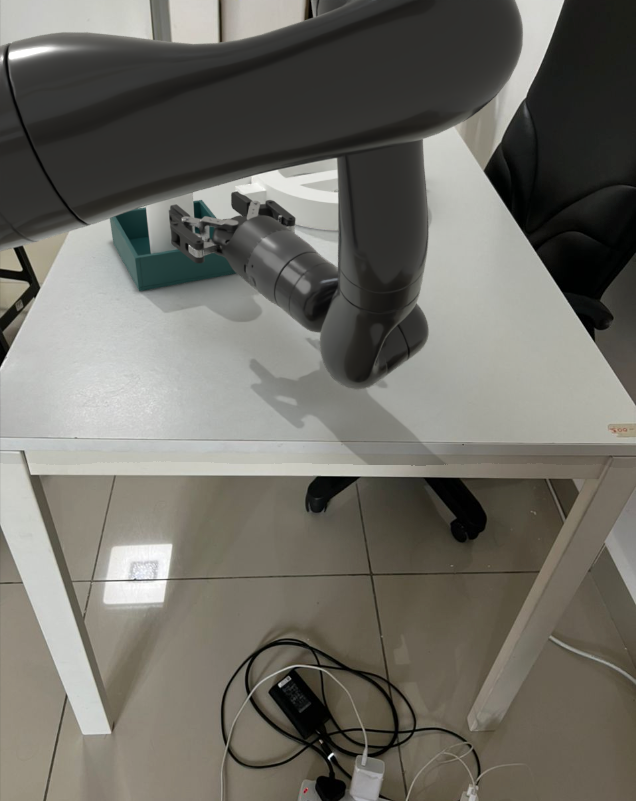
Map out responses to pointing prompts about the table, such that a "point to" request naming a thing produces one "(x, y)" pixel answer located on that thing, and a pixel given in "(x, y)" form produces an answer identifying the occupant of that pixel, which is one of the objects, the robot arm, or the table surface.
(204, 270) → the teal open storage bin
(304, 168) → the ring with crossbar
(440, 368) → the table surface
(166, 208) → the can
